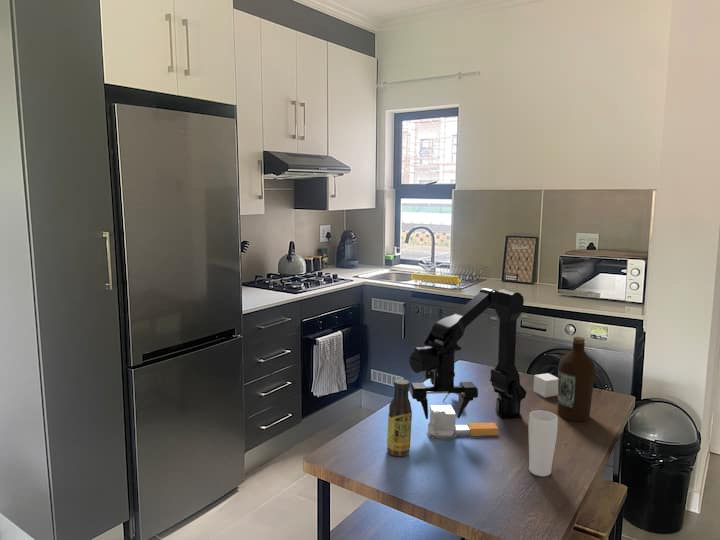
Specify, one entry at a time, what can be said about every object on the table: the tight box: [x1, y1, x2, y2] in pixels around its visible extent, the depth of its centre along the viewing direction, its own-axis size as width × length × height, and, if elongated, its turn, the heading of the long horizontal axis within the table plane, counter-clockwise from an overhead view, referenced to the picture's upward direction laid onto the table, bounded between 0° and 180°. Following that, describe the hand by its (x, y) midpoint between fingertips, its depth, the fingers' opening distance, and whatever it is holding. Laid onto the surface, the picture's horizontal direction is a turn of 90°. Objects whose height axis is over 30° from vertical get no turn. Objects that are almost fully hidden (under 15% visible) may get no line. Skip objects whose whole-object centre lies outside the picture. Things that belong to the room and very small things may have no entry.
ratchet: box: [427, 421, 499, 441], centre depth 154 cm, size 20×8×5 cm, turn 94°
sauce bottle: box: [386, 378, 413, 457], centre depth 142 cm, size 6×6×20 cm
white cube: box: [532, 372, 558, 398], centre depth 184 cm, size 6×6×6 cm
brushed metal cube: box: [429, 404, 457, 431], centre depth 153 cm, size 6×6×5 cm
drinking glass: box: [527, 409, 559, 478], centre depth 133 cm, size 7×7×15 cm
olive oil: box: [556, 336, 596, 422], centre depth 165 cm, size 11×11×25 cm
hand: (442, 418), depth 153 cm, fingers open, 9 cm apart
